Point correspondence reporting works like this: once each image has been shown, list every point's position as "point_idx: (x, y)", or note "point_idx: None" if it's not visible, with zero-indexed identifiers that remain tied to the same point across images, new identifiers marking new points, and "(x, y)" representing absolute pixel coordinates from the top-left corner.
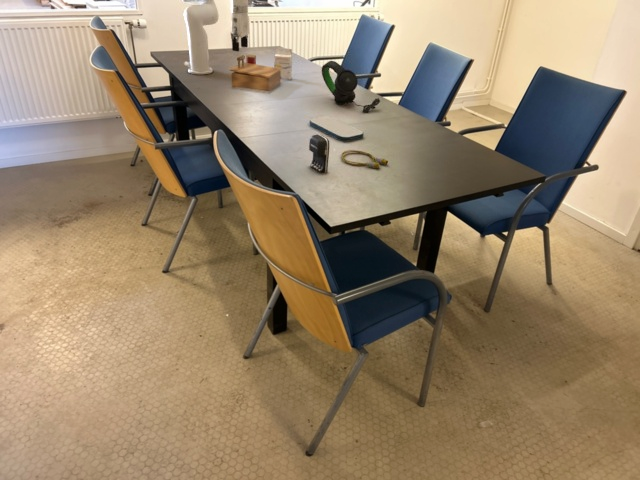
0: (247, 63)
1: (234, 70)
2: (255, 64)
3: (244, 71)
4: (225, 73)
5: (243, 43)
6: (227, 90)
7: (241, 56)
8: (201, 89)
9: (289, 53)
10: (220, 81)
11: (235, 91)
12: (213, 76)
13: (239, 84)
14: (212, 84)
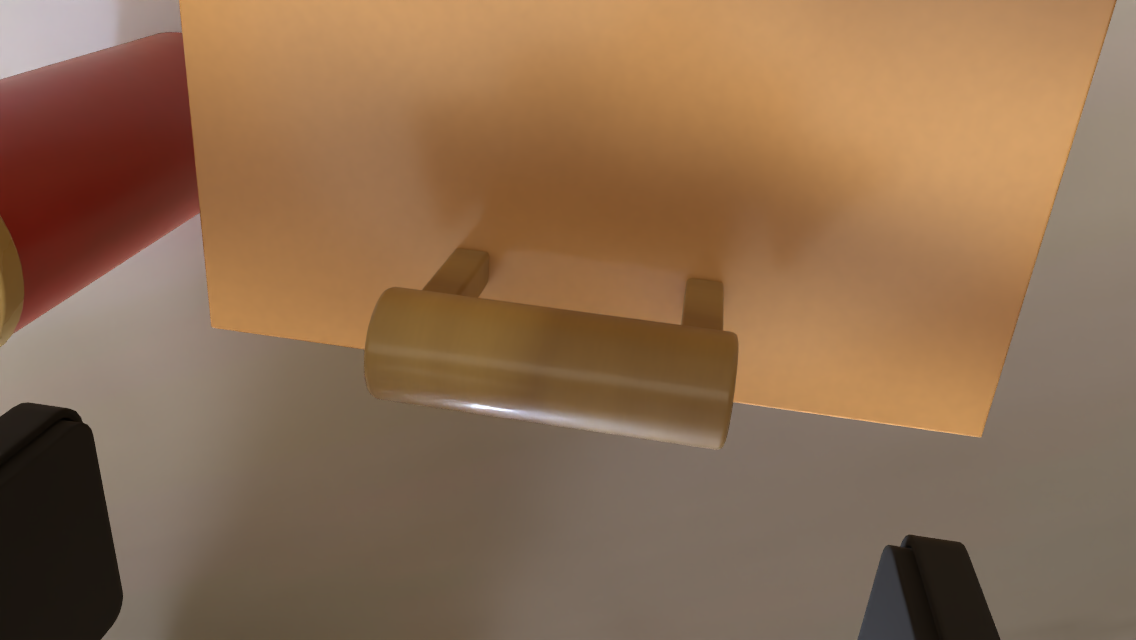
0: (251, 215)
1: (1017, 315)
2: (196, 6)
3: (1072, 42)
4: (185, 518)
5: (30, 619)
6: (1085, 261)
7: (544, 378)
8: (1100, 600)
9: None
10: (592, 482)
11: (1129, 114)
12: (399, 608)
13: None
14: (788, 536)
